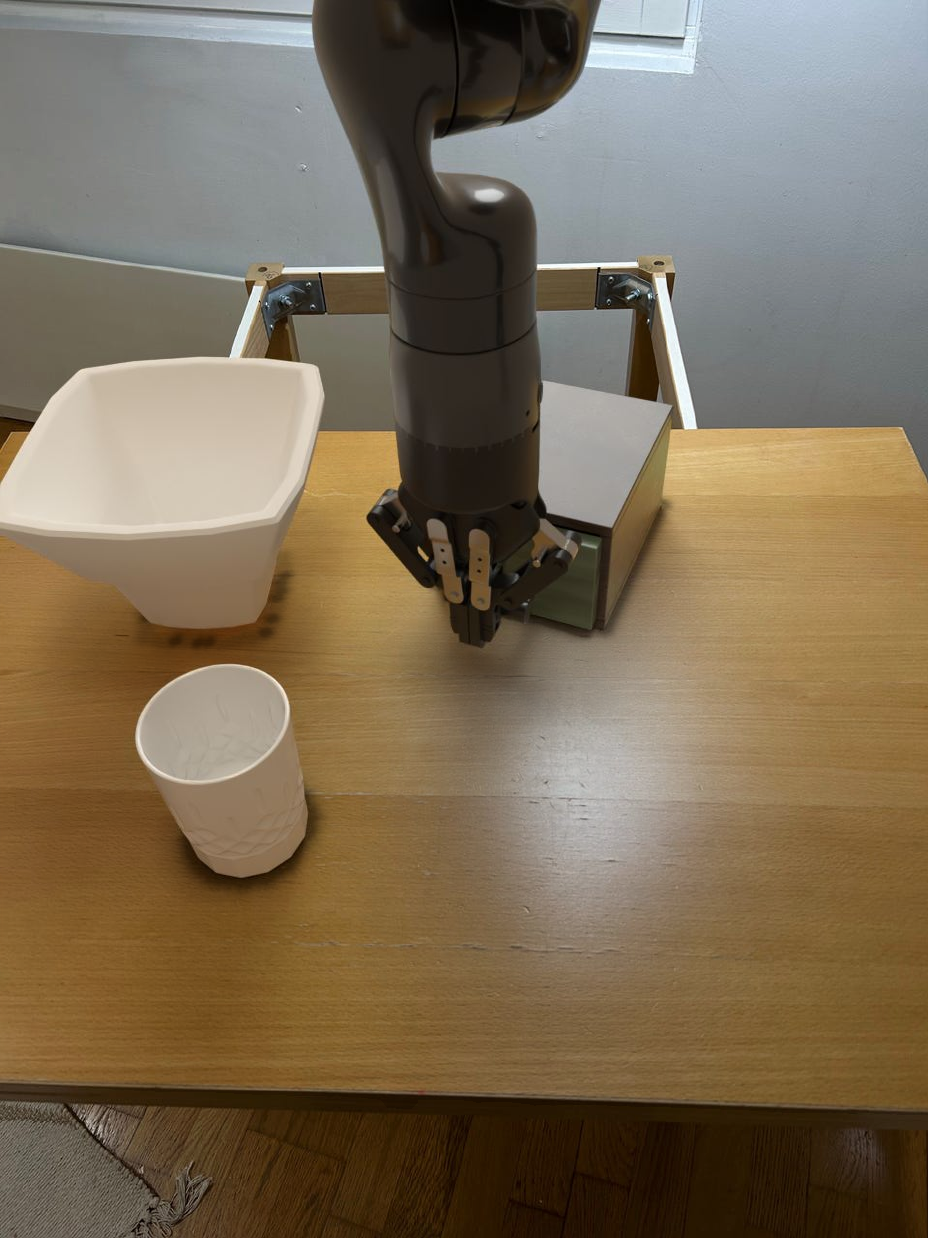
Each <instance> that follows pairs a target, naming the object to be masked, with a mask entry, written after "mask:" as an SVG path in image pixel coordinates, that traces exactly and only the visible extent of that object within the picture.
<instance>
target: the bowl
mask: <svg viewBox="0 0 928 1238" xmlns="http://www.w3.org/2000/svg"><path fill="white" fill-rule="evenodd" d="M325 396H326V395H325V392H324V387H323V382H322V378H321V374H320V369H319V367H318V366H317V365H314V364H313V363H305V362H299V361H298V362H296V361H289V360H281V359H272V358H261V357H259V358H258V357H257V358H256V357H223V356H220V357H219V356H190V357H178V358H162V359H148V360H133V361H126V362H120V363H112V364H105V365H99V366H91V367H85V368H82V369H79V370H77V372H76V373H75V374H73V376H72V377H70V379H69V380H68V381H66V382H65V383H64V384H63V386H61V387H60V388H59V389H58V390H57V392H55V393H54V394H53V395H52V396H51V397H50V399H49V400H48V402H47V403H46V405H45V407H44V408H43V410H42V412H41V413H40V415H39V416H38V418H37V420H36V422H35V423H34V425H33V427H32V428H31V430H30V432H28V434H27V436H26V438H25V439H24V442H23V443H22V445H21V447H20V448H19V450H18V452H17V454H16V455H15V458H14V459H13V460H12V463H10V466H9V467H8V469H7V471H6V473H5V475H4V477H3V478H2V480H1V481H0V535H1V536H3V537H5V538H7V539H9V540H11V541H12V542H14V543H16V544H18V545H20V546H22V547H24V548H25V549H27V550H28V551H29V550H30V551H31V552H33V553H35V554H37V555H39V556H41V557H43V558H45V559H47V560H49V561H50V562H52V563H54V564H56V565H58V566H60V567H62V568H63V569H65V570H68V571H70V572H71V573H73V574H75V575H77V576H79V577H81V578H83V579H84V580H87V581H90V582H95V583H101V584H106V585H113V586H114V587H115V588H116V589H117V590H118V592H120V594H122V596H124V598H125V599H126V600H127V601H128V602H129V603H130V604H131V605H132V606H133V607H134V608H135V609H136V610H137V612H139V614H141V615H142V616H143V617H144V618H145V619H146V621H148V622H149V623H151V624H153V625H158V626H162V627H168V628H173V629H189V630H210V629H211V630H213V629H224V628H226V629H227V628H235V627H240V626H245V625H246V626H247V625H251V624H254V623H256V622H257V621H258V619H259V617H260V615H261V614H262V612H263V611H264V609H265V607H266V606H267V602H268V598H269V594H270V590H271V586H272V583H273V578H274V573H275V570H276V565H277V558H278V555H279V553H280V551H281V549H282V546H283V544H284V542H285V539H286V536H287V533H288V532H289V529H290V526H291V524H292V521H293V520H294V517H295V514H296V511H297V510H298V507H299V505H300V502H301V499H302V497H303V495H304V491H305V488H306V485H307V481H308V477H309V474H310V470H311V467H312V466H311V465H312V461H313V457H314V454H315V450H316V447H317V446H316V445H317V441H318V437H319V432H320V427H321V424H322V423H321V422H322V417H323V414H324V408H325V403H326V397H325Z"/></svg>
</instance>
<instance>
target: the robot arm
mask: <svg viewBox="0 0 928 1238" xmlns="http://www.w3.org/2000/svg"><path fill="white" fill-rule="evenodd" d="M601 4H602V0H313V4H312V12H311V34H312V41H313V49H314V52H315V57H316V61H317V64H318V67H319V71H320V73H321V76H322V79H323V81H324V85H325V87H326V90H327V93H328V95H329V97H330V100H331V103H332V105H333V108H334V110H335V113H336V115H337V117H338V119H339V122H340V124H341V126H342V129H343V131H344V134H345V136H346V139H347V141H348V143H349V146H350V149H351V152H352V154H353V156H354V159H355V162H356V164H357V167H358V170H359V173H360V176H361V178H362V182H363V185H364V188H365V192H366V194H367V198H368V200H369V205H370V207H371V211H372V215H373V218H374V221H375V225H376V230H377V233H378V237H379V242H380V248H381V253H382V254H381V255H382V264H383V271H384V280H385V290H386V299H387V301H386V302H387V310H388V319H389V324H388V325H389V346H388V347H389V349H388V370H389V371H388V373H389V382H390V383H389V384H390V392H391V401H392V413H393V421H394V422H393V423H394V428H395V429H394V430H395V431H394V432H395V439H396V440H395V441H396V449H397V458H398V460H397V461H398V469H399V475H400V480H401V482H400V483H399V485H398V487H397V489H395V488H387V489H385V490H384V492H383V493H382V495H381V496H380V497H379V498H378V500H377V501H376V503H374V505H373V507H372V508H371V509H370V510H369V511H368V513H367V514H366V517H365V518H366V519H365V520H366V522H367V524H368V525H369V526H370V528H371V529H372V530H373V531H374V532H375V533H376V534H377V536H378V537H379V538H380V539H381V540H382V541H383V543H384V544H385V545H386V546H387V547H388V549H389V550H390V551H391V552H392V553H393V554H394V555H395V557H396V558H397V559H398V560H399V561H400V563H401V564H402V565H403V566H404V567H405V569H406V570H407V571H408V572H409V573H410V574H411V576H412V577H413V578H414V579H415V580H416V582H417V583H418V584H419V585H420V586H422V587H424V588H425V589H433V588H434V587H436V588H437V589H438V588H440V589H439V590H441V589H442V590H441V591H442V592H444V593H445V596H446V598H447V599H448V600H449V603H448V606H449V619H450V628H451V630H452V633H454V634H457V635H458V642H459V644H463V645H467V646H471V647H474V648H478V649H480V650H482V649H483V648H484V647H485V644H486V643H489V644H490V643H491V642H492V641H493V639H494V637H495V635H496V634H497V631H498V630H499V628H500V626H501V624H502V617H501V606H502V607H503V608H505V609H507V610H515V609H516V608H518V607H519V606H521V605H522V604H523V603H525V602H526V601H528V600H529V599H530V598H532V597H533V596H535V595H536V594H537V593H539V592H540V591H542V590H543V589H544V588H546V587H547V586H548V585H550V584H551V583H553V582H554V581H555V580H557V579H558V578H560V577H561V576H562V575H564V574H565V573H566V572H567V571H568V569H569V567H570V565H571V563H572V562H573V560H574V558H575V556H576V554H577V552H578V550H579V548H580V546H581V544H582V538H581V536H580V535H579V534H578V533H576V532H574V531H565V532H564V533H561V532H560V531H558V530H557V529H556V528H555V527H554V526H553V525H552V524H551V523H549V522H548V521H547V520H546V515H547V508H546V505H545V503H544V501H543V499H542V497H541V495H540V492H539V488H538V483H539V464H540V406H541V402H542V397H543V382H542V380H543V379H542V355H541V346H540V339H539V332H538V319H537V318H538V317H537V315H538V314H537V313H538V311H537V310H538V306H537V305H538V223H537V214H536V211H535V207H534V205H533V203H532V200H531V199H530V197H529V196H528V194H527V193H526V192H525V191H524V190H523V189H522V188H521V187H519V186H518V185H516V184H514V183H513V182H511V181H508V180H507V179H503V178H500V177H496V176H491V175H484V174H479V173H466V172H465V173H464V172H444V171H435V168H434V164H433V158H432V142H433V141H436V140H440V139H447V138H450V137H455V136H459V135H465V134H470V133H474V132H478V131H482V130H487V129H491V128H498V127H503V126H508V125H513V124H517V123H522V122H525V121H528V120H531V119H533V118H536V117H537V116H540V115H542V114H544V113H545V112H547V111H549V110H550V109H551V108H553V107H554V106H556V105H557V104H558V103H559V102H560V101H562V99H564V98H565V97H566V96H567V95H568V94H569V93H570V92H571V91H572V90H573V88H574V87H575V85H576V84H578V82H579V80H580V78H581V76H582V75H583V73H584V69H585V67H586V64H587V60H588V57H589V52H590V48H591V44H592V39H593V35H594V30H595V26H596V22H597V18H598V16H599V15H598V14H599V11H600V7H601ZM531 538H532V539H533V541H534V544H535V546H534V547H533V549H532V551H531V556H532V557H531V558H530V559H529V560H527V561H526V562H525V563H523V564H522V565H521V566H519V567H518V568H517V569H516V570H514V572H513V573H506V574H505V567H506V560H507V559H509V558H510V557H511V556H512V555H513V554H514V553H515V552H517V551H518V550H519V549H520V548H521V547H522V546H523V545H525V544H526V543H527V542H528V541H529V540H530V539H531ZM419 549H420V551H422V552H423V554H424V555H425V556H426V557H427V560H425V558H424V557H423V556H422V554H421V553H420V551H419Z"/></svg>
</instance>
